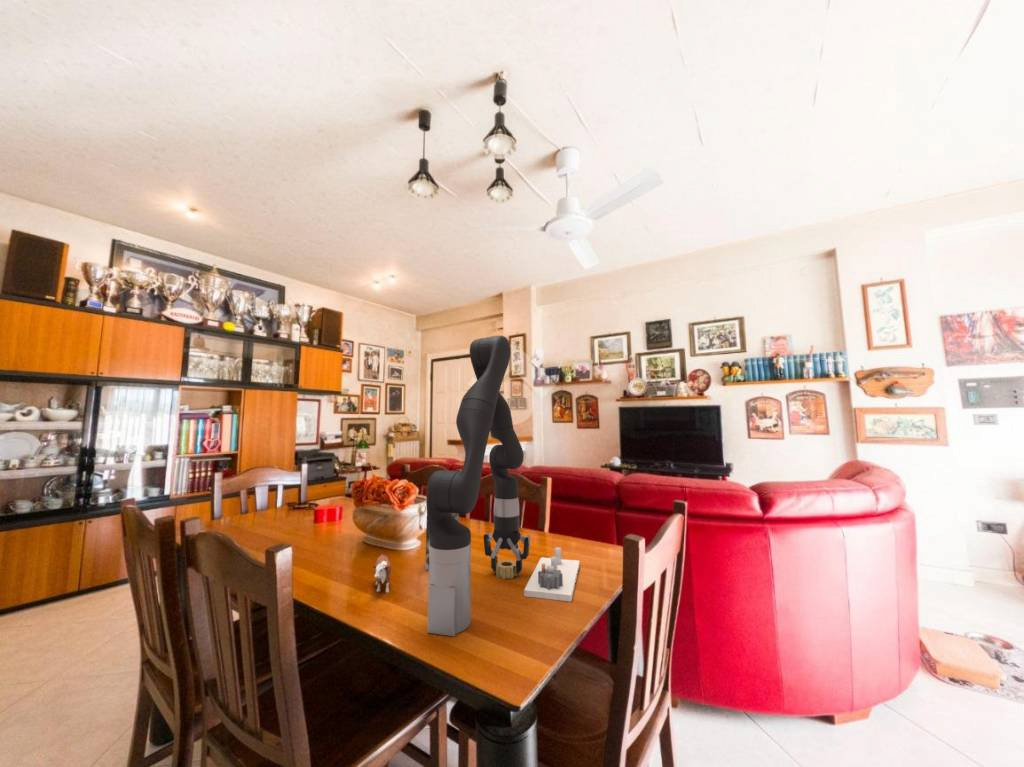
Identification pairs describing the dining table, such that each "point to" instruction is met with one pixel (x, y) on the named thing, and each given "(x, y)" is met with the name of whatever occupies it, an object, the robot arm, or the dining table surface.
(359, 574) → the dining table surface
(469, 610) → the robot arm
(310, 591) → the dining table surface
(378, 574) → the bull figurine
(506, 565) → the brass gear
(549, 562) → the gear board
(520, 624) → the dining table surface
